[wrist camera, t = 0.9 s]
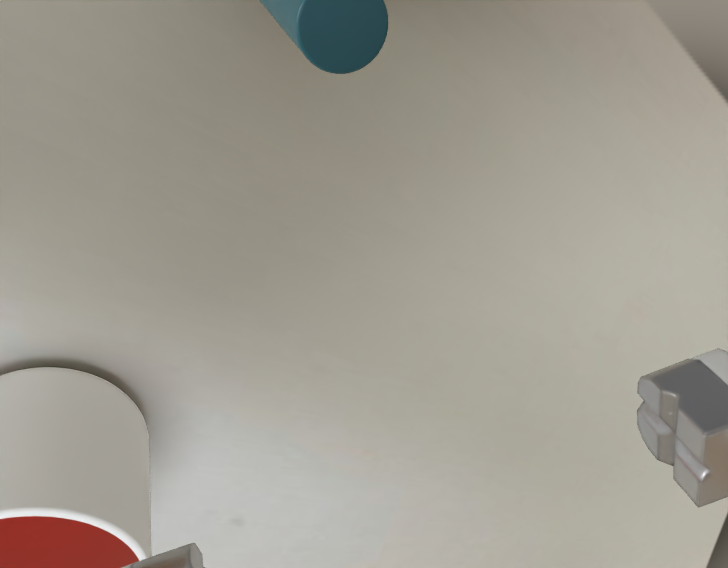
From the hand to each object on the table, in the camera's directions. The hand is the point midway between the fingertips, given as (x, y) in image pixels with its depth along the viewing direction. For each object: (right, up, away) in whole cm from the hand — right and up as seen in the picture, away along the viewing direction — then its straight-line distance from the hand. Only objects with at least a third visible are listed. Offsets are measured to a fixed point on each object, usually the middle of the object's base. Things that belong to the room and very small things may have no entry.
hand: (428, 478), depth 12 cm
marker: (-5, +16, +16) cm, 23 cm away
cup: (-18, -4, +25) cm, 31 cm away
